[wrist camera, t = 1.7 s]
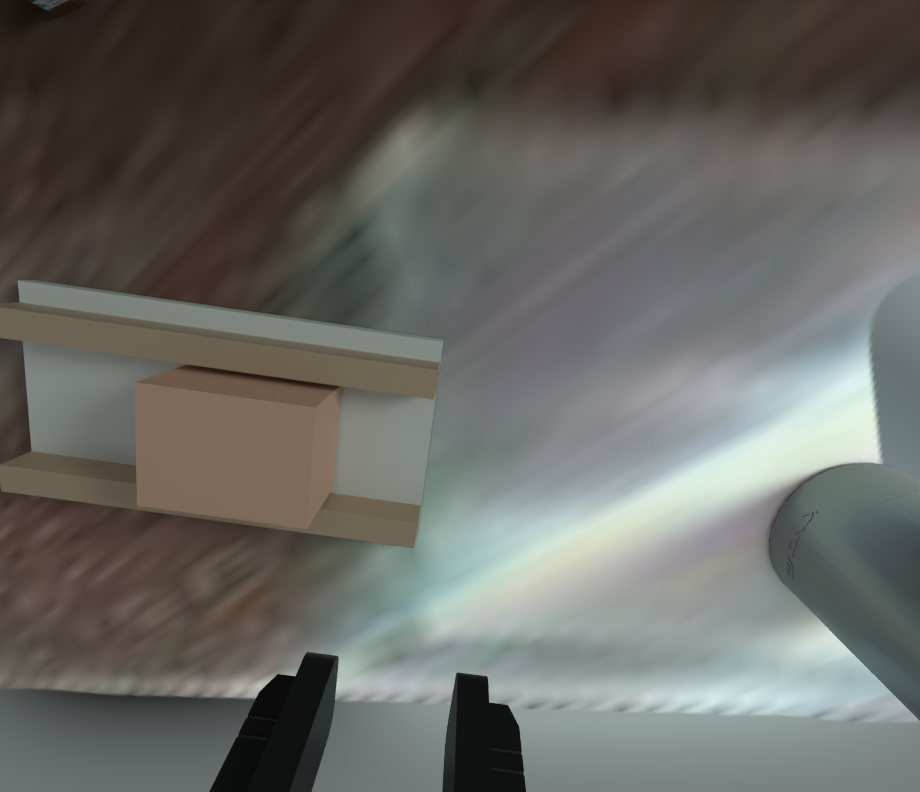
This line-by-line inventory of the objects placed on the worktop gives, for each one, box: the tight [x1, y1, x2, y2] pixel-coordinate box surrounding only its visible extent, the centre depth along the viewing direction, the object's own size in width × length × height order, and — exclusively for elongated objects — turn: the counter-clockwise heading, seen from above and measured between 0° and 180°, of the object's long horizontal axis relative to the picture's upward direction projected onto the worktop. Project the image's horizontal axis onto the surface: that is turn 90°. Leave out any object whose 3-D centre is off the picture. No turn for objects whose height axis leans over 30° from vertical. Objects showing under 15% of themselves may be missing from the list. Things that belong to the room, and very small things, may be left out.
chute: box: [0, 280, 444, 548], centre depth 26 cm, size 22×12×3 cm, turn 82°
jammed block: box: [134, 364, 341, 529], centre depth 25 cm, size 8×6×4 cm
